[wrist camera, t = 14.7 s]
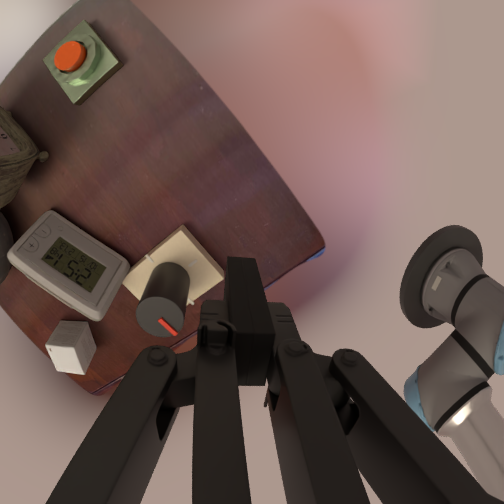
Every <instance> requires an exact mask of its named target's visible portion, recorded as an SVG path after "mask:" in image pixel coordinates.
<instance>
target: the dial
mask: <svg viewBox="0 0 504 504" xmlns="http://www.w3.org/2000/svg"><path fill="white" fill-rule="evenodd" d="M189 287H190V277H189V275H188V273H187V271H186V270H185V269H184V268H183V267H182V266H180V265H179V264H176V263H172V262H165V263H161V264H159V265H157V266H156V267H155V268H154V269H153V271H152V273H151V275H150V278H149V280H148V282H147V285H146V287H145V289H144V292H143V294H142V296H141V299H140V301H139V304H138V306H137V309H136V318H137V321H138V323H139V325H140V326H141V327H142V328H143V329H144V330H145V331H146V332H148V333H149V334H151V335H154V336H158V337H169V336H172V335H174V336H175V335H177V334H178V332H179V331H180V330H181V328H182V327H183V324H184V319H185V312H186V306H187V299H188V293H189Z"/></svg>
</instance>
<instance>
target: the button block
mask: <svg viewBox="0 0 504 504" xmlns="http://www.w3.org/2000/svg"><path fill="white" fill-rule="evenodd" d="M69 41H76V42H78V43H79V44H81V45H83V46H84V47H85V49H86V57H85V60H84V62H83V63H82V65H81V66H80V67H79V68H78V69H76V70H74V71H72V72H66V71H63V70H59V69H58V68H57V67H56V66H55V63H54V58H55V54H56V52H57V50H58V49H59V48H60V47H61V46H62V45H63V44H65V43H66V42H69ZM43 62H44V63H45V64H46V66H47V67H48V69H49V70H50V72H51V74H52V75H53V77H54V78H55V79H56V81H57V82H58V83H59V85H60V86H61V87H62V89H63V90H64V92H65V93H66V94H67V96H68V97H69V99H70V100H71V101H72V103H73V104H76V105H81V104H82V103H83V102H84V101H85V100H86V99H87V98H88V97H89V96H90V95H91V94H92V93H93V92H94V91H95V90H96V89H97V88H98V87H100V86H101V85H102V84H103V83H104V82H105V81H106V80H107V79H108V78H109V77H111V76H112V75H113V74H114V73H115V72H116V71H118V70H119V69H120V68H121V67H122V66H123V64H122V62H121V61H120V60H119V59H118V57H117V56H116V55H115V54H114V53H113V51H112V50H111V49H110V48H109V46H108V45H107V44H106V43H105V41H104V40H103V39H102V38H101V37H100V35H99V34H98V33H97V32H96V30H95V29H94V28H93V27H92V26H91V24H90V23H88V22H87V21H86V20H83V21H82V22H81V23H80V24H79V25H77V26H76V27H75V28H74V29H73V30H72V31H71V32H70V33H69V34H68V35H67V36H66V37H65V38H64V39H63V40H61V41H60V42H59V43H58V44H57V45H56V46H55V47H54V49H53V50H52V51H51V52H50V53H49V54H48V55H47V56H46V57H45V58H44V59H43Z"/></svg>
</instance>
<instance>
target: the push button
mask: <svg viewBox="0 0 504 504" xmlns="http://www.w3.org/2000/svg"><path fill="white" fill-rule="evenodd" d="M85 57H86V49H85V47H84V46H83V45H81V44H79V43H78V42H76V41H69V42H66V43H65V44H63V45H62V46H61V47H60V48H59V49H58V50H57V52H56V54H55V58H54V63H55V66H56V67H57V68H58V69H59V70H63V71H66V72H72V71H74V70H76V69H78V68H79V67H80V66H81V65H82V63H83V62H84V60H85Z"/></svg>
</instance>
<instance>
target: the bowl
mask: <svg viewBox="0 0 504 504" xmlns="http://www.w3.org/2000/svg"><path fill="white" fill-rule="evenodd" d="M13 245H14V242H13V236H12V232H11V229H10V226H9V224H8V222H7V220H6V218H5V217H4V215H3V214H2V213H1V212H0V284H1V283H2V282H3V281H4V280H5V278H6V276H7V275H8V272H9V270H10V267H11V263H10V261H9V260H8V257H7V253H8V251H9V250H10V249H11V248H12V246H13Z"/></svg>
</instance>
